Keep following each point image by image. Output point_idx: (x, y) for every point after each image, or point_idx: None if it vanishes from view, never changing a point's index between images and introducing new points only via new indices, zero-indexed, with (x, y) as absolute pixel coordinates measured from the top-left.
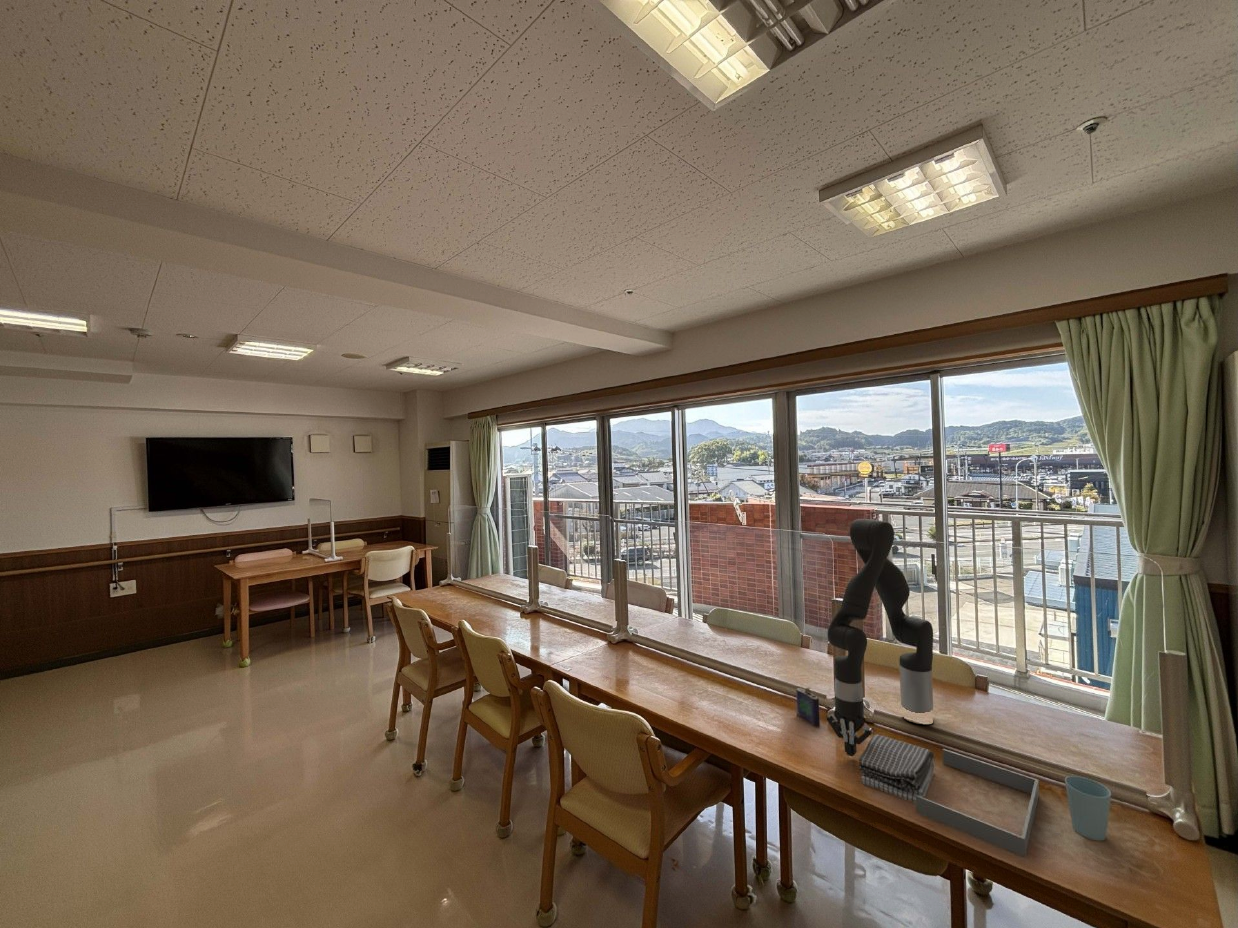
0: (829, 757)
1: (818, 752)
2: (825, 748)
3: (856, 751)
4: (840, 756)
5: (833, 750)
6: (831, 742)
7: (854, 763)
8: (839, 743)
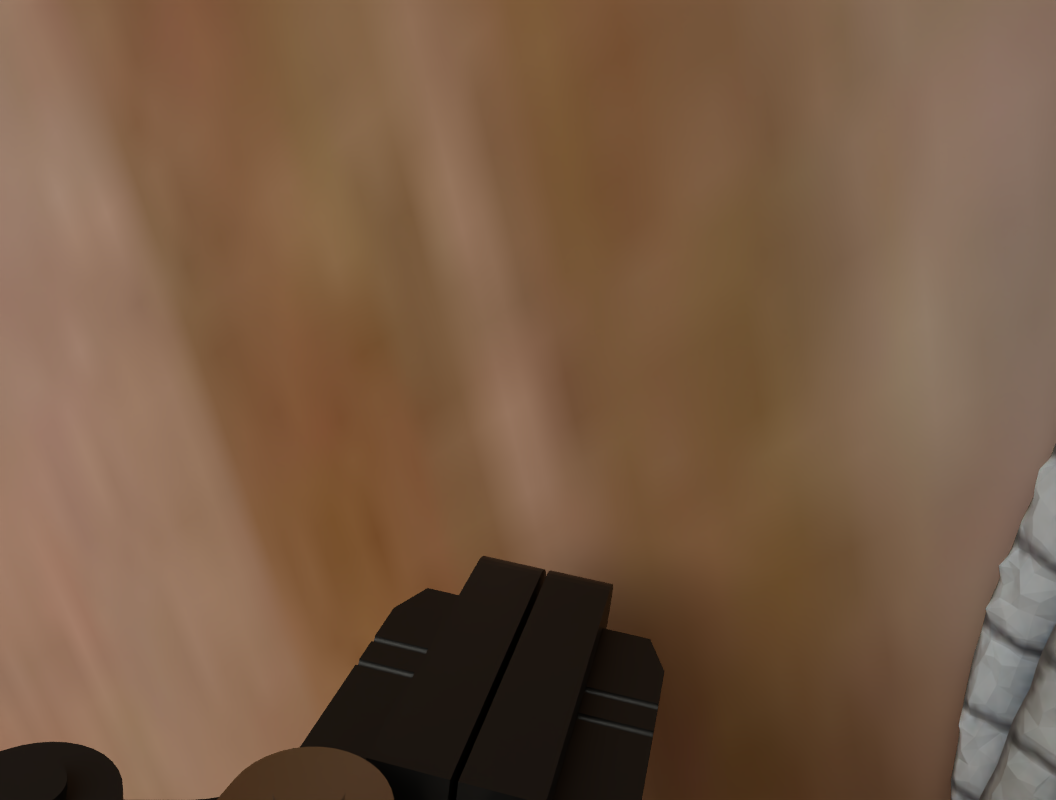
0: (215, 722)
1: (9, 650)
2: (34, 452)
3: (662, 681)
4: (363, 601)
5: (177, 447)
6: (14, 125)
7: (667, 725)
8: (162, 54)
